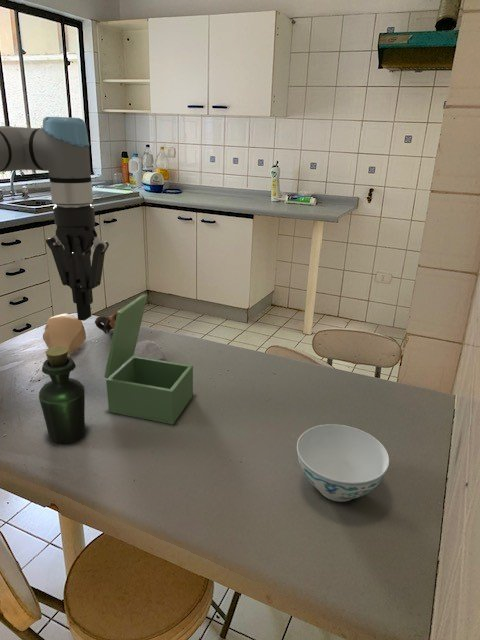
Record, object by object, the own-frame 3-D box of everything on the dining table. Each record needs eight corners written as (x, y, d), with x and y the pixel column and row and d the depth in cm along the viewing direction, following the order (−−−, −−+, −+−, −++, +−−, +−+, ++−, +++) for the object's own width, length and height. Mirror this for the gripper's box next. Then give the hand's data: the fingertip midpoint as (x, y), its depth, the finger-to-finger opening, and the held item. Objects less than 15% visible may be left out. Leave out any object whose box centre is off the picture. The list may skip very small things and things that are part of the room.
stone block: (168, 371, 119) (152, 349, 125) (169, 356, 116) (153, 335, 123) (123, 384, 113) (109, 360, 120) (123, 368, 110) (109, 345, 117)
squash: (86, 336, 133) (88, 309, 129) (82, 378, 116) (85, 348, 112) (45, 333, 129) (47, 305, 125) (35, 375, 113) (37, 344, 109)
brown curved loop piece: (134, 327, 141) (140, 309, 135) (133, 352, 134) (140, 334, 129) (93, 321, 136) (98, 302, 131) (90, 346, 130) (96, 327, 125)
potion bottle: (74, 450, 86) (63, 364, 79) (35, 442, 88) (22, 357, 81) (96, 425, 93) (89, 344, 86) (61, 418, 95) (50, 339, 88)
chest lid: (147, 294, 99) (144, 293, 99) (120, 313, 88) (117, 311, 88) (134, 354, 105) (130, 353, 105) (107, 378, 95) (104, 377, 95)
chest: (192, 396, 105) (192, 365, 102) (172, 424, 94) (172, 391, 92) (134, 385, 108) (132, 355, 105) (108, 412, 98) (106, 379, 95)
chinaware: (293, 455, 87) (296, 420, 84) (374, 463, 86) (380, 428, 83) (293, 516, 73) (297, 477, 70) (390, 526, 72) (398, 487, 69)
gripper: (113, 204, 91) (121, 315, 100) (55, 199, 94) (68, 308, 103) (92, 209, 84) (103, 328, 93) (31, 204, 87) (46, 320, 96)
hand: (84, 317), depth 98 cm, fingers closed
